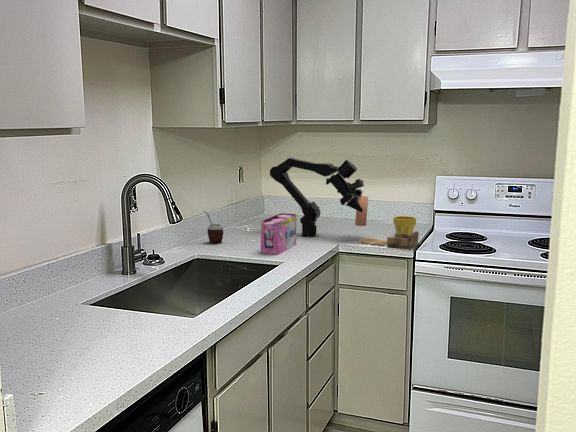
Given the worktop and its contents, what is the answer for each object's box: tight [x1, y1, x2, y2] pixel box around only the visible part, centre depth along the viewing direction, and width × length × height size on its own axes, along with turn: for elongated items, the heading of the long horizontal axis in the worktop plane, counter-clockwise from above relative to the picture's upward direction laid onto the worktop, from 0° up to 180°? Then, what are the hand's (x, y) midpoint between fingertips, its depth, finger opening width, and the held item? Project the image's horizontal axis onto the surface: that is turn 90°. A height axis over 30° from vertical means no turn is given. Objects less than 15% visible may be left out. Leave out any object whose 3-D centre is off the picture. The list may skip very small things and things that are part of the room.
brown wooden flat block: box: [356, 237, 387, 247], centre depth 254 cm, size 4×10×12 cm
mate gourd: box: [202, 210, 224, 245], centre depth 249 cm, size 8×8×15 cm
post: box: [354, 195, 369, 227], centre depth 257 cm, size 5×5×13 cm
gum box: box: [260, 212, 297, 255], centre depth 239 cm, size 24×8×14 cm, turn 159°
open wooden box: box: [386, 230, 420, 251], centre depth 247 cm, size 10×12×6 cm
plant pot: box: [393, 215, 417, 234], centre depth 264 cm, size 10×10×10 cm
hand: (363, 210), depth 257 cm, fingers closed on post, 5 cm apart
